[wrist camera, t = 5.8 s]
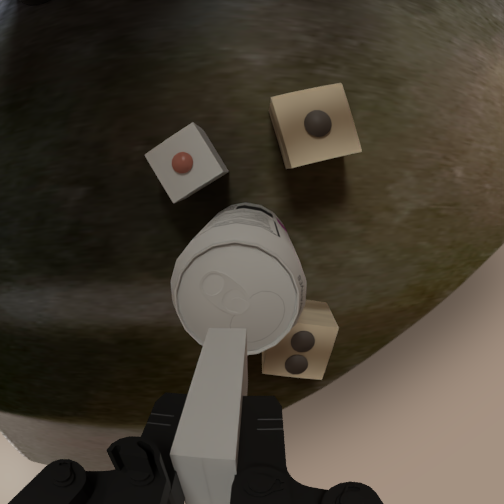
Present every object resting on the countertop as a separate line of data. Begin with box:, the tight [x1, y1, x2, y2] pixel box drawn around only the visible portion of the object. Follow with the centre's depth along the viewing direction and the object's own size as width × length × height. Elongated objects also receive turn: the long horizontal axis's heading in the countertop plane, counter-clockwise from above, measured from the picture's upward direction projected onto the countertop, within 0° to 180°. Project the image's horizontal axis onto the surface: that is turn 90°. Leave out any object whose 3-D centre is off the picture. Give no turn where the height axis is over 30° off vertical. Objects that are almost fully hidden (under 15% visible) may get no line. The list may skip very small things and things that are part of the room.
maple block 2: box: [262, 300, 339, 380], centre depth 31 cm, size 6×6×6 cm
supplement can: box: [171, 202, 307, 355], centre depth 25 cm, size 8×8×15 cm
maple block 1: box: [269, 83, 362, 169], centre depth 26 cm, size 6×6×6 cm
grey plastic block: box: [145, 122, 229, 204], centre depth 28 cm, size 5×5×5 cm
